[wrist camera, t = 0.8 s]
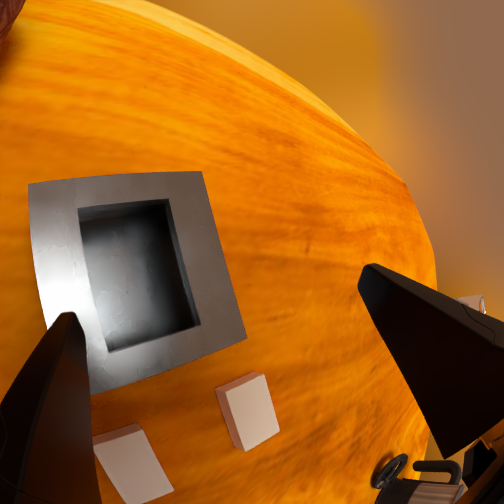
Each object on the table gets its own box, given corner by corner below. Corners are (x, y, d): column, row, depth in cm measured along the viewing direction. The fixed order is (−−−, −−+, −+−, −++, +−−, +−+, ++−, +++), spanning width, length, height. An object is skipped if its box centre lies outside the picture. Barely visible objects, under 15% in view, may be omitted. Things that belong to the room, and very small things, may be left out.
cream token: (265, 426, 23) (279, 430, 22) (231, 445, 21) (245, 451, 19) (249, 371, 24) (263, 373, 23) (212, 388, 22) (225, 392, 20)
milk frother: (384, 515, 32) (449, 525, 20) (347, 524, 26) (431, 542, 15) (408, 455, 39) (474, 457, 28) (379, 449, 33) (465, 454, 22)
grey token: (164, 479, 16) (174, 490, 15) (122, 495, 14) (129, 508, 12) (135, 421, 17) (142, 429, 15) (87, 436, 14) (91, 446, 13)
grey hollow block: (202, 337, 22) (247, 338, 17) (69, 379, 15) (72, 400, 10) (167, 204, 23) (201, 171, 18) (34, 221, 16) (28, 184, 11)
